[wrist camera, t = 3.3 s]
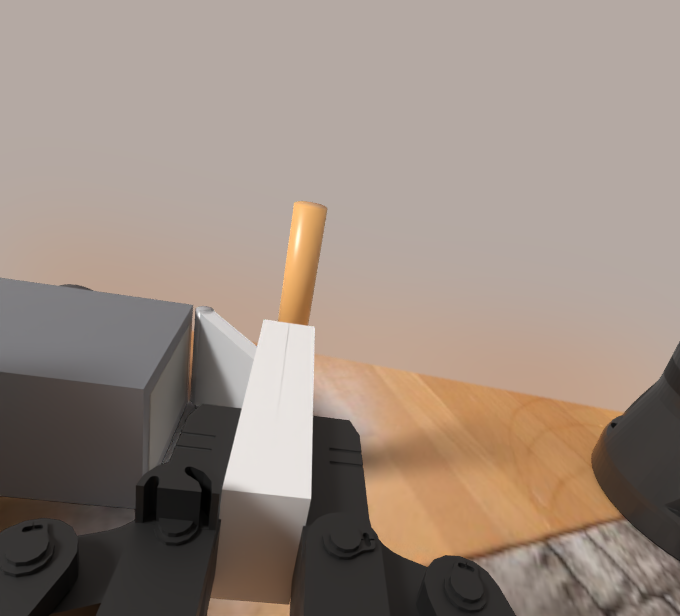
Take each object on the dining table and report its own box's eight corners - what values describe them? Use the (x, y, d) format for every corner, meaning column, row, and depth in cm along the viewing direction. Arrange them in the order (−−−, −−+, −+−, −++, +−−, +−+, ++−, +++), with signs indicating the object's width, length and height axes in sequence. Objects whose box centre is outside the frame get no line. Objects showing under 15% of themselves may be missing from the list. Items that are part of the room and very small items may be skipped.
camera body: (195, 384, 38) (202, 281, 34) (142, 509, 27) (144, 375, 23) (6, 361, 36) (-8, 251, 33) (-134, 483, 25) (-178, 335, 22)
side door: (204, 392, 37) (221, 161, 30) (287, 481, 30) (334, 210, 23) (184, 398, 35) (197, 160, 29) (265, 492, 29) (308, 211, 22)
